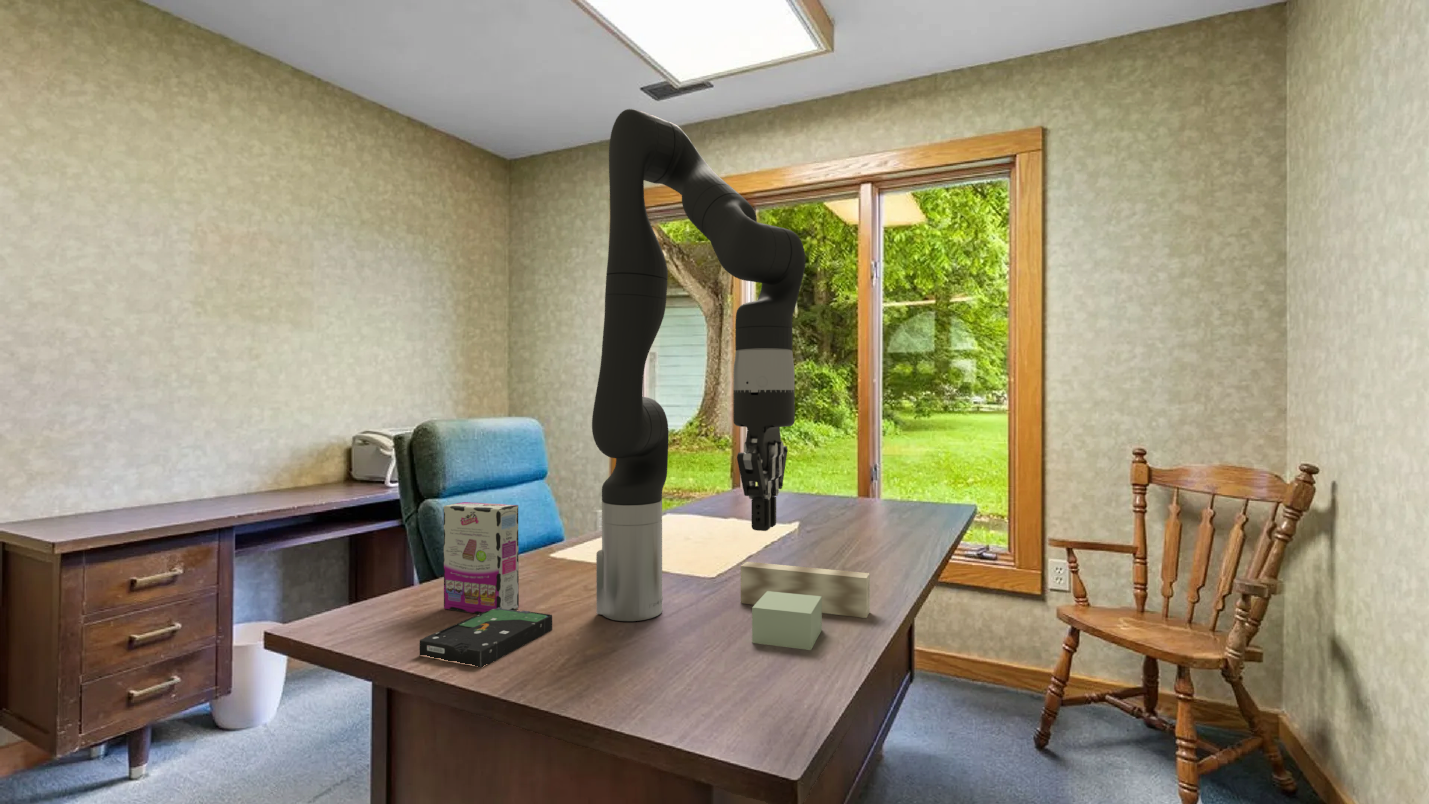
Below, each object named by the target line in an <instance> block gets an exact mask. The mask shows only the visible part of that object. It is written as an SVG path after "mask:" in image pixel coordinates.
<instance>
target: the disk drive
mask: <svg viewBox="0 0 1429 804" xmlns="http://www.w3.org/2000/svg"><path fill="white" fill-rule="evenodd" d="M552 631H553V614H548V613H543V612H536V611H529V610H521V611H520V610H507V609H502V607H501V608H500V607H498V608H496V609H492V610H490V611H485V612H483V613H481V614H477V615H474V616H472V617H469V618H467V619H465V620H463V621H462V620H461V621H460V622H458V623H456V624H453V625H451V626H447V628H444V629H442V630H439V631H437V632H434V633H432V634H430V635H429V634H428V635H427V636H425V637H424V638H421V639H419V656H420V655H427V656H430V657H434V658H441V659H444V660H448V661H457V662H460V663H465V664H472V665H475V666H478V667H483V666H484V665H486V664H488V665H491V664H492V663H491V662H493V661H495V662H496V661H497V660H499V659H501V658H503V657H504V656H507V655H509V654H510V653H512V652H514V651H516V650H518V649H519V648H522V647H523V646H526V645H527V644H529V643H531V642H532V641H535V640H536V639H538V638H540V637H542V636H544V635H546V634H548V633H549V632H552ZM490 663H491V664H490ZM493 663H494V662H493ZM486 666H487V665H486ZM483 668H484V667H483Z"/></svg>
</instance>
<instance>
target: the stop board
mask: <svg viewBox="0 0 1429 804" xmlns="http://www.w3.org/2000/svg"><path fill="white" fill-rule="evenodd" d="M870 575H871V574H870V573H869V572H858V571H850V570H849V571H848V570H838V569H828V568H817V567H809V566H808V567H807V566H806V567H805V566H798V565H796V566H795V565H788V564H787V565H785V564H776V563H775V564H774V563H765V562H755V561H745V562H744V563H743V564H741V565H740V604H745V605H746V604H747V605H753V606H754V605H755V604H756V603H757V602H758V601H759V599H760V598H761V597H762V596H763V595H764V594H765V593H766V592H767V591H771V592H782V593H792V594H802V595H812V596H822V614H828V615H839V616H846V617H854V618H863V619H867V618H868V616H869V615H870V612H871V611H870V603H871V601H870V599H871V597H870V596H871V595H870V592H871V590H870V586H871V584H870V581H871V580H870V578H871V577H870Z"/></svg>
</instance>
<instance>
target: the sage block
mask: <svg viewBox="0 0 1429 804" xmlns="http://www.w3.org/2000/svg"><path fill="white" fill-rule="evenodd" d="M822 615H823V613H822V596H812V595H802V594H792V593H782V592H771V591H767V592H766V593H765V594H764V595H763V596H762V597H761V598H760V599H759V601H758V602H757V603H756V604H755V605H753V606H752V607H751V618H752V619H751V626H752V627H751V628H752V629H751V634H752V635H751V638H752V639H751V643H752V644H759V645H765V646H767V645H768V646H776V647H783V648H790V649H791V648H792V649H798V650H799V649H800V650H807V651H812V648H813V647H814V645H815V643H816V642H817V639H818V638H819V636H820V634H821V632H822V629H823V628H822V626H823V622H822V621H823V618H822V617H823V616H822Z"/></svg>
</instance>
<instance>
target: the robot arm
mask: <svg viewBox="0 0 1429 804" xmlns="http://www.w3.org/2000/svg"><path fill="white" fill-rule="evenodd" d="M608 147H609V148H608V177H609V181H608V182H609V211H610V212H609V237H608V238H609V239H608V252H607V265H606V276H605V277H606V278H605V290H604V291H605V292H604V317H603V332H602V345H601V358H600V367H599V371H598V379H597V384H596V385H597V387H596V392H595V398H594V403H593V410H592V418H591V430H592V431H591V432H592V437H593V441H594V443H595V445H596V446H597V449H598V450H599V451H600V452H601V454H603V455H605V456H606V457H609V458H612V459H615V466H614V468H613V471H612V473H611V474H610V475H609V477H608V478H607V479H606V480H605V481H604V482H603V484H602V486H601V549H599V550H598V551H597V552H596V557H595V559H596V569H595V571H596V573H595V574H596V576H595V577H596V614H597V615H602V616H603V617H605V618H607V619H609V620H613V621H619V622H636V621H637V622H638V621H645V620H646V621H647V620H649V619H653V618H655V617H657V616H659V615H661V613H662V612H663V489H664V487H665V484H666V481H667V476H668V463H669V461H668V459H669V437H670V436H669V435H670V434H669V422H668V418H667V414H666V412H665V410H664V408H663V406H661V404H660V403H659V402H657V401H656V400H655V399H652V398H650V397H646V396H644V393H643V392H644V391H643V389H644V374H645V367H646V363H647V360H648V359H647V358H648V356H649V353H650V351H651V348H652V346H653V344H654V341H655V339H656V337H657V335H658V332H659V330H660V329H661V326H662V323H663V320H664V317H665V313H666V312H665V311H666V306H667V296H668V295H667V293H668V280H669V278H668V277H669V274H668V272H669V271H668V264H667V261H666V258H665V254H664V252H663V249H662V246H661V243H660V242H659V240H658V237H657V236H656V233H655V231H654V229H653V226H652V223H651V221H650V219H649V216H648V211H647V208H646V207H647V206H646V202H645V188H644V187H645V186H644V185H645V183H644V182H648V183H652V184H657V185H659V184H660V185H663V186H666V187H668V188H669V189H672V190H673V191H675V192H677V193H678V194H680V195H681V203H682V204H681V205H682V208H683V211H684V213H685V215H686V217H687V219H688V220H689V221H690V222H691V223H692V225H693V226H694V227H695V228H696V229H697V230H699V232H700V233H702V234H703V235H704V237H706V239H707V240H709V242H710V244H711V247H712V249H713V251H714V254H715V255H716V257H717V260H718V262H719V264H720V265H721V267H722V268H723V269H724V270H725V271H726V272H727V273H728V274H729V275H731V276H732V277H734V278H735V279H736V278H737V279H738V280H741V281H747V282H753V283H759V284H761V286H760V287H761V288H760V291H759V294H758V298H757V300H753V301H749V302H744V303H743V304H741V305H740V306H738V308H737V310H736V312H735V324H734V325H735V326H734V327H735V334H734V335H735V339H734V340H735V341H734V342H735V345H734V346H735V347H734V348H735V349H734V350H735V353H734V360H733V361H734V363H733V371H732V372H733V374H732V375H733V378H732V379H733V383H732V384H733V387H732V388H733V389H732V390H733V394H732V395H733V396H732V398H733V404H732V406H733V409H732V410H733V416H732V417H733V419H732V420H733V424H734V425H735V426H736V427H745V428H746V430H747V431H746V437H745V442H744V444H743V452H738V453H737V455H736V460H737V465H738V470H739V475H740V480H741V486H742V489H743V494H744V495H743V496H745V497H748V498H749V500H751V528H752V530H754V531H758V532H760V531H761V532H768V531H769V530H770V529H771V528H773V527H775V526H776V525H777V497H778V496H779V493H780V490H782V488H783V486H784V477H785V469H786V463H787V458H788V457H787V455H788V453H789V452H788V447H787V445H784V441H782V438H781V429H780V428H783V427H784V428H786V427H791V426H793V425H794V424H795V420H796V419H795V417H796V416H795V411H796V409H795V407H796V406H795V402H796V401H795V399H796V397H795V395H796V393H795V392H796V391H795V364H794V362H795V361H794V355H793V317H794V312H795V309H796V305H797V302H798V299H799V294H800V290H801V287H802V286H801V285H802V282H803V278H804V274H805V269H806V252H805V248H804V247H805V246H804V244H803V242H802V240H801V238H800V237H799V235H798V234H797V233H796V232H794V231H792V230H791V229H787V228H785V227H779V226H776V225H771V224H767V223H763V222H758V220H757V219H758V218H757V213H756V212H755V209H754V207H753V206H752V205H751V204H750V202H748V200H747V199H745V197H743V196H742V195H741V193H739V192H738V191H736V190H735V188H733V187H732V186H730V185H729V184H728V183H727V181H725V180H724V179H723V178H721V177H720V176H719V175H718V174H717V173H716V172H715V171H714V170H713V168H711V166H710V165H709V164H708V163H707V161H706V160H705V159H704V158H703V156H702V155H701V154H700V153H699V151H698V149H697V148H696V146H695V145H694V143H693V142H692V140H691V139H690V138H689V136H688V135H687V134H686V132H684V130H683V129H682V128H681V127H680V126H678V125H677V124H675V123H673V122H671V121H669V120H666V119H664V118H661V117H658V116H655V115H654V114H653V115H652V114H650V113H647V112H645V111H641V110H638V109H634V108H628V109H624V110H623V111H621V112H620V113H619V114H618V116H617V117H616V118H615V121H614V122H613V125H612V128H611V132H610V138H609V145H608Z"/></svg>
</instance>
